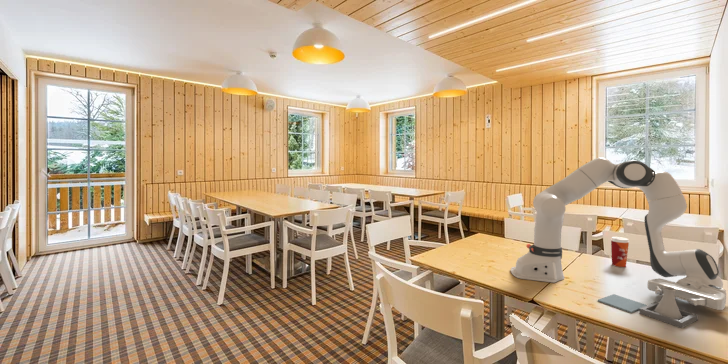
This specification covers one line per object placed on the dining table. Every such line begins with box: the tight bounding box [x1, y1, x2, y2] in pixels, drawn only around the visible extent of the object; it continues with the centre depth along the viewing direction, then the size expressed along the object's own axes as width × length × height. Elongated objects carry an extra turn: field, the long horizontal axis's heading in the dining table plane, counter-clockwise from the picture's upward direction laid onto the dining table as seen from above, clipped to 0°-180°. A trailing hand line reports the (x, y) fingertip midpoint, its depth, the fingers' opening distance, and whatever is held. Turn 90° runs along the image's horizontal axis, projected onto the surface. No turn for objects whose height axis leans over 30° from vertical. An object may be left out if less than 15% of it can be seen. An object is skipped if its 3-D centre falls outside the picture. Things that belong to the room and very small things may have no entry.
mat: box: [597, 293, 648, 314], centre depth 123 cm, size 11×11×1 cm
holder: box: [639, 301, 699, 329], centre depth 113 cm, size 11×11×2 cm
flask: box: [653, 287, 683, 320], centre depth 112 cm, size 7×7×10 cm
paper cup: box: [610, 236, 630, 268], centre depth 165 cm, size 8×8×14 cm
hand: (674, 297), depth 114 cm, fingers open, 8 cm apart
